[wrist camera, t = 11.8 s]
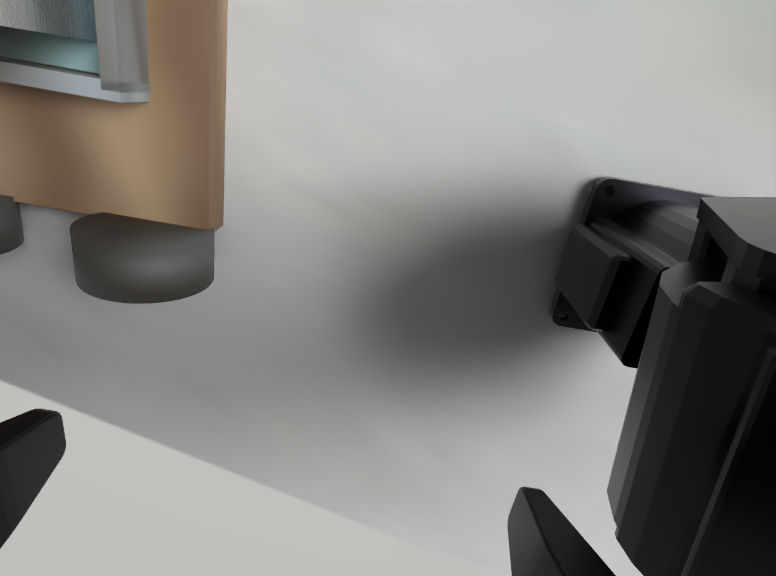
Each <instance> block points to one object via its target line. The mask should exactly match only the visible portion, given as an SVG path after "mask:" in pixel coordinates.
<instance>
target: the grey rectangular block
mask: <svg viewBox="0 0 776 576" xmlns="http://www.w3.org/2000/svg"><path fill="white" fill-rule="evenodd" d="M0 26H5V27H11V28H18V29H24V30H30V31H36V32H42V33H48V34H54V35H60V36H66V37H72V38H78V39H84V40H90V41H96V42H97V33H96V20H95V8H94V0H0Z"/></svg>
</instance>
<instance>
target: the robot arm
mask: <svg viewBox="0 0 776 576" xmlns="http://www.w3.org/2000/svg"><path fill="white" fill-rule="evenodd" d="M607 185H610V186H611V191H610V193H609V194H608V195H606V196H603V195H602V190H603V188H604V187H605V186H607ZM555 283H556V285H557V286H558V289H557V291H556V294H555V297H554V300H553V303H552V306H551V309H550V316H551V318H552V320H553V322H554V323H555V324H557V325H559V326H564V327H570V328H576V329H582V330H588V331H594V332H598V333H599V334H600V336H601V337H602V338H603V339H604V341H605V342H606V343H607V345H608V346H609V347H610V348H611V350H612V351H613V352H614V353H615V355H616V356H617V357H618V359H619V360H620V361H621V362H622V364H623V365H625V366H627V367H632V368H638V369H637V373H636V377H635V381H634V385H633V388H632V392H631V396H630V400H629V404H628V408H627V412H626V416H625V420H624V424H623V428H622V432H621V435H620V439H619V443H618V447H617V451H616V455H615V459H614V463H613V467H612V471H611V475H610V480H609V484H608V488H607V493H608V497H609V501H610V506H611V510H612V514H613V518H614V521H615V523H616V525H617V528H616V531H615V535H616V539H617V540H618V542H619V543H620V545H621V547H622V548H623V550H624V551H625V553H626V554H627V556H628V557H629V559H630V560H631V562H632V563H633V565H634V566H635V567H636V568H637V569H638V570H639V571H640V572H641V573H642V574H643V575H644V576H776V198H772V197H719V196H714V195H708V194H702V193H697V192H691V191H685V190H680V189H674V188H669V187H663V186H657V185H652V184H646V183H640V182H635V181H629V180H624V179H618V178H612V177H603V178H600V179H599V180H597V181H596V182H595V183H594V185H593V187H592V190H591V193H590V196H589V198H588V201H587V204H586V207H585V210H584V213H583V216H582V219H581V222H580V223H579V224H577V225H576V226H575V227H573V228H572V231H571V234H570V237H569V240H568V243H567V246H566V249H565V252H564V255H563V258H562V261H561V264H560V267H559V270H558V272H557V275H556V278H555ZM561 311H567V313H566V315H565V316H563V317H558V314H559V313H560V312H561ZM65 448H66V440H65V434H64V427H63V421H62V416H61V415H60V413H59V412H57V411H52V410H45V409H33V410H30V411H28V412H25V413H23V414H21V415H18V416H16V417H13V418H11V419H9V420H6V421H3V422H1V423H0V548H1V547H2V546H3V544H4V543H5V542H6V540H7V539H8V538H9V536H10V535H11V534H12V532H13V531H14V530H15V528H16V527H17V525H18V524H19V522H20V521H21V519H22V518H23V516H24V515H25V513H26V512H27V510H28V509H29V507H30V506H31V504H32V502H33V501H34V499H35V498H36V496H37V495H38V493H39V492H40V490H41V489H42V487H43V486H44V484H45V483H46V481H47V480H48V478H49V477H50V475H51V474H52V472H53V470H54V469H55V467H56V466H57V464H58V463H59V461H60V460H61V458H62V456H63V454H64V452H65ZM508 537H509V549H510V560H511V571H512V576H616V575H615V574H614V573H613V572H612V571H611V570H610V568H609V567H608V566H607V565H606V564H605V563H604V561H603V560H602V559H601V558H600V557H599V556H598V554H597V553H596V552H595V551H594V550H593V549H592V547H591V546H590V545H589V544H588V543H587V542H586V540H585V539H584V538H583V537H582V536H581V535H580V533H579V532H578V531H577V530H576V529H575V527H574V526H573V525H572V524H571V523H570V522H569V520H568V519H567V518H566V517H565V516H564V515H563V513H562V512H561V511H560V510H559V509H558V508H557V506H556V505H555V504H554V503H553V502H552V501H551V499H550V498H549V497H548V496H547V495H546V494H545V493H544V492H543V491H542V490H540V489H536V488H530V487H521V488H520V489H519V490H518V492H517V495H516V498H515V500H514V503H513V506H512V508H511V511H510V514H509V517H508Z"/></svg>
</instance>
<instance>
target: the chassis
mask: <svg viewBox="0 0 776 576" xmlns="http://www.w3.org/2000/svg"><path fill="white" fill-rule="evenodd" d="M94 8H95V20H96V33H97V42H96V41H90V40H84V39H78V38H72V37H66V36H60V35H54V34H48V33H42V32H36V31H30V30H24V29H18V28H11V27H5V26H0V254H3V253H6V252H9V251H11V250H13V249H15V248H17V247H18V246H20V245H21V244H22V243H23V241H24V235H23V229H22V223H21V217H20V210H19V204H18V202H20V203H26V204H31V205H37V206H43V207H49V208H55V209H61V210H66V211H72V212H78V213H84V214H90V215H88V216H85V217H82V218H80V219H78V220H76V221H75V222H73V223H72V224H71V226H70V234H71V243H72V251H73V259H74V268H75V276H76V283H77V285H78V287H79V288H80V289H81V290H83V291H84V292H85V293H87V294H89V295H92V296H94V297H97V298H100V299H104V300H108V301H114V302H121V303H141V304H142V303H160V302H167V301H173V300H178V299H182V298H186V297H189V296H192V295H195V294H197V293H199V292H201V291H203V290H205V289H206V288H207V287H209V286H210V285H211V283H212V282H213V279H214V231H215V230H217V229H218V228H219V227H221V226H222V225H223V202H224V151H225V100H226V49H227V0H94Z"/></svg>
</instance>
